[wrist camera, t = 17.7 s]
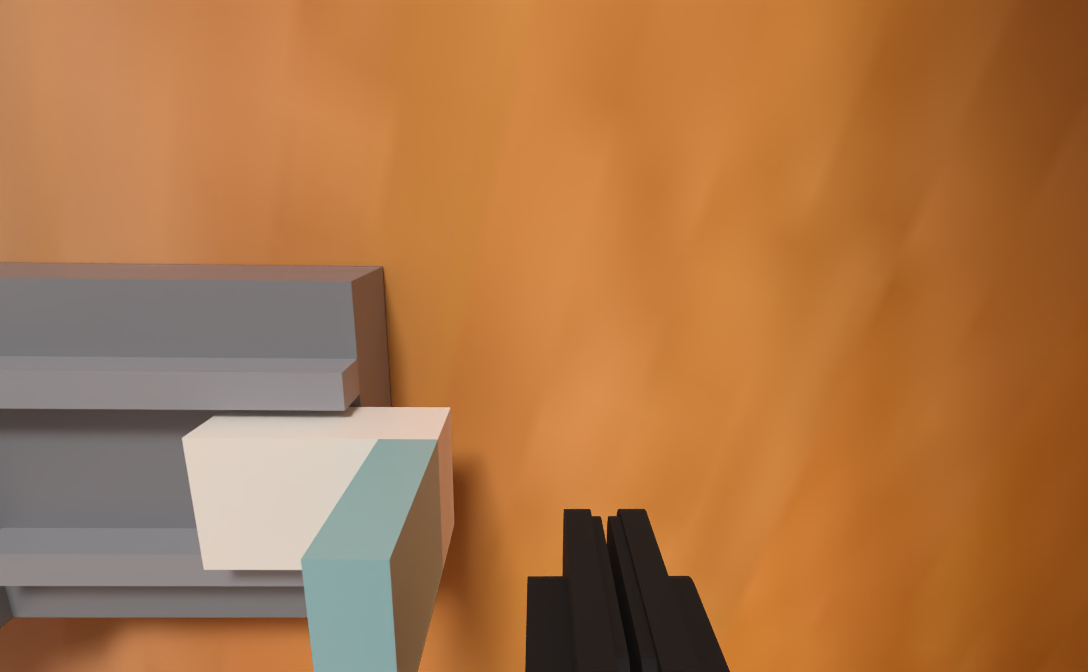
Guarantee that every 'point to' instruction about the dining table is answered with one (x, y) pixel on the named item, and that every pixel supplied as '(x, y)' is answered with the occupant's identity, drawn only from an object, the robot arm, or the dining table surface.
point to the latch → (334, 518)
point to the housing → (157, 420)
